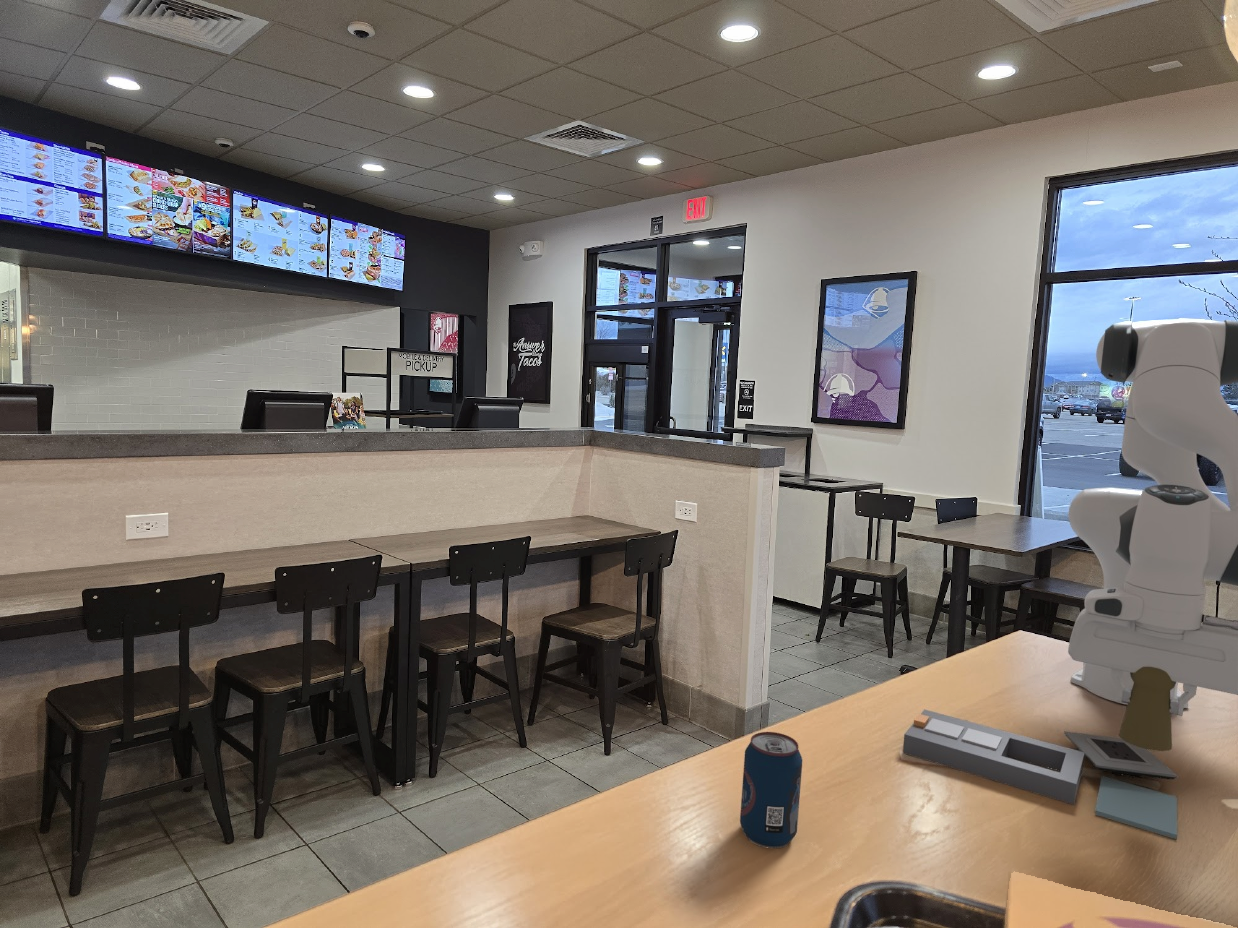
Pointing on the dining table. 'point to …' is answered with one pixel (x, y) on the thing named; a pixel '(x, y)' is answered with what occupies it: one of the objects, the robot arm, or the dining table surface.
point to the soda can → (771, 789)
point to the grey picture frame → (1119, 756)
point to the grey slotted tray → (996, 755)
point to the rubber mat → (1137, 807)
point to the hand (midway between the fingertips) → (1149, 707)
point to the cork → (1149, 710)
